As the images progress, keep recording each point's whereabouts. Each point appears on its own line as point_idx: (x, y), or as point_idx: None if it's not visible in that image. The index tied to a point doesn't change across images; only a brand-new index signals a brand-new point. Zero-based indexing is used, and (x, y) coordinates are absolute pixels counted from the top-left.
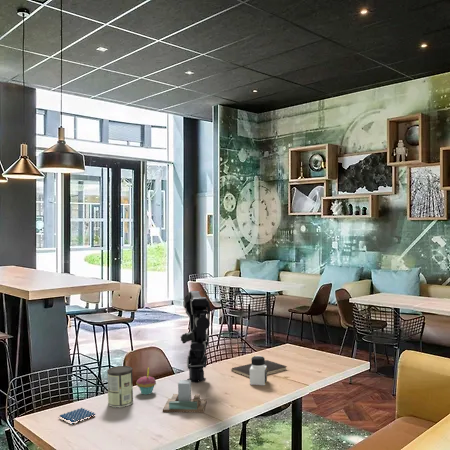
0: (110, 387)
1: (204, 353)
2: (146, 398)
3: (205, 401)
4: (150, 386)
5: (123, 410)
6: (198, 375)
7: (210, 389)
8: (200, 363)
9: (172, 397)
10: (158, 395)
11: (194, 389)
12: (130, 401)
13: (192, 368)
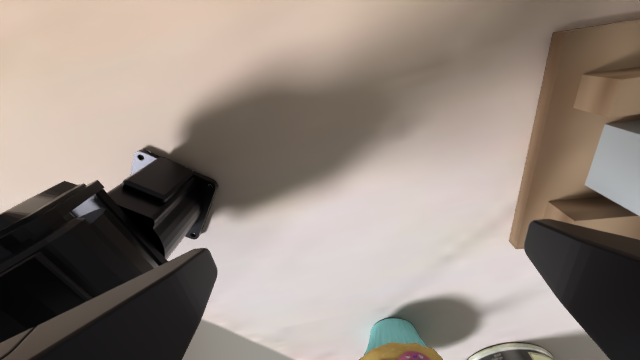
0: None
1: (145, 295)
2: (461, 318)
3: (622, 25)
4: (435, 352)
5: (587, 347)
6: (181, 196)
7: (307, 70)
8: (561, 225)
9: (633, 236)
10: (425, 291)
11: (324, 168)
12: (538, 357)
13: (164, 258)
